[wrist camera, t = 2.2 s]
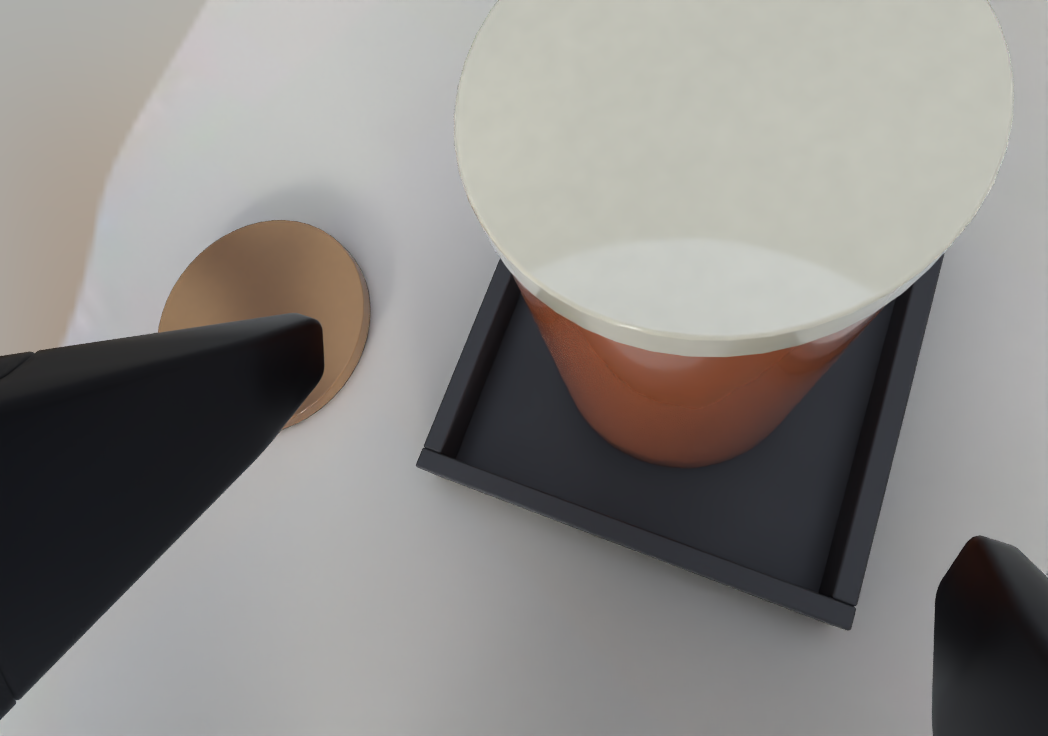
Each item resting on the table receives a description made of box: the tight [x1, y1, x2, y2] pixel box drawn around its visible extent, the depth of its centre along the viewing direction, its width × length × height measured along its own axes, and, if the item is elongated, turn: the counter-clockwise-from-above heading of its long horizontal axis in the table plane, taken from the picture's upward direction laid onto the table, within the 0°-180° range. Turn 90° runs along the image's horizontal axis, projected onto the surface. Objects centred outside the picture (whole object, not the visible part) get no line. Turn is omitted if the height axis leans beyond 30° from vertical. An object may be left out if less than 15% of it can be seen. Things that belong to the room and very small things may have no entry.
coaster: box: [158, 220, 370, 430], centre depth 24 cm, size 8×8×1 cm
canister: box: [454, 0, 1014, 468], centre depth 15 cm, size 7×7×12 cm
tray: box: [416, 254, 944, 630], centre depth 20 cm, size 12×12×2 cm
